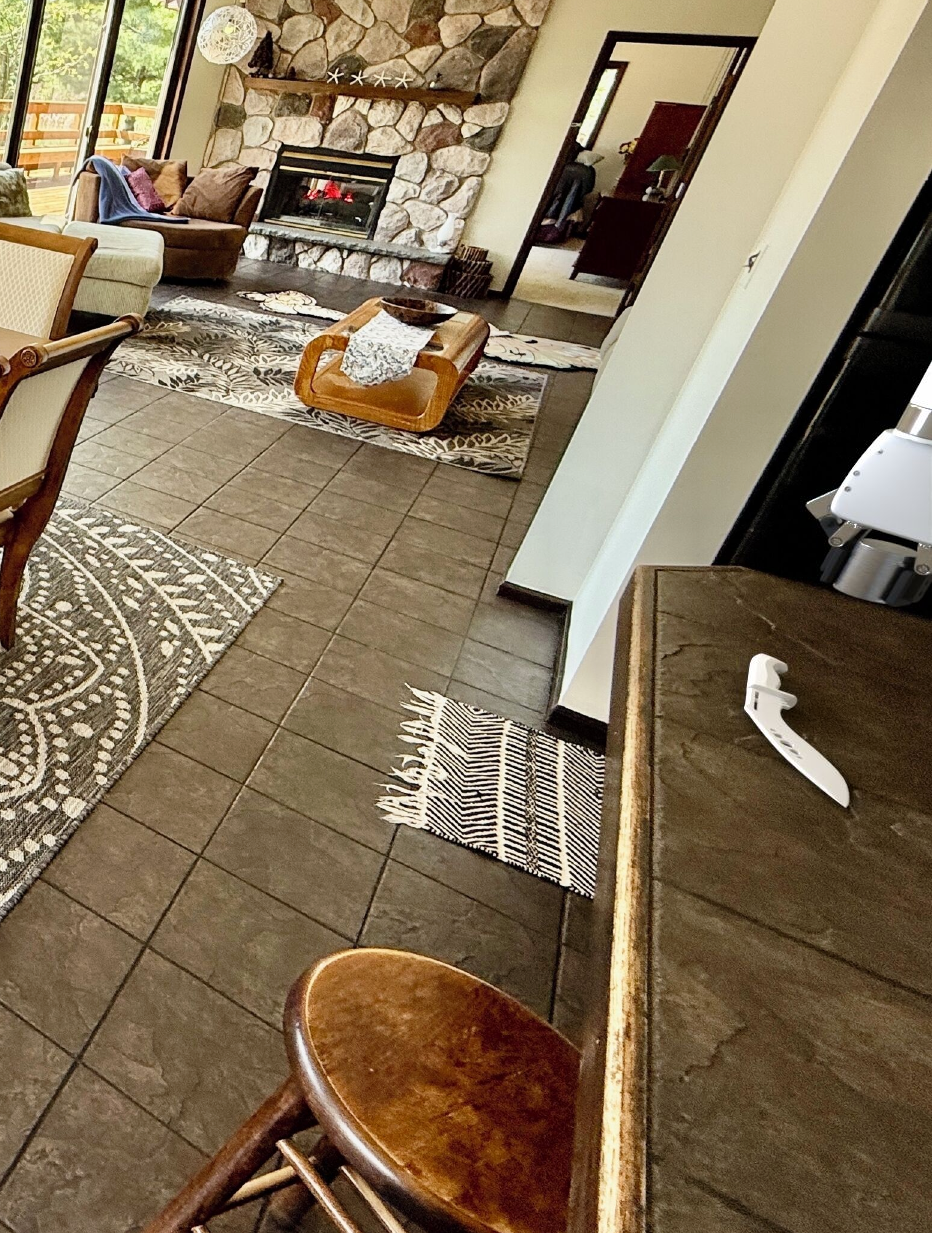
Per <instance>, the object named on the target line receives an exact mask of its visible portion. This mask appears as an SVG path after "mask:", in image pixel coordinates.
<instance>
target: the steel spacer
mask: <svg viewBox="0 0 932 1233" xmlns="http://www.w3.org/2000/svg"><path fill="white" fill-rule="evenodd" d="M916 555H917V551H916V550H914V549H912V548H910V547H908V546H907V547H906V546H903V545H901V544H896V543H893V542H889V541H884V540H881V539H880V540H879V539H873V538H863V539H859V540H858V541H857V543H856V545H855V546H854V548H853V550H852V552H851V554H850V555H849V557H848V559H847V561H846V562H845V564H844V566H843V568H842V570H841V571H840V573H839V575H838V577H837V579H836V580H835V582H833V584H832V586H833V588H834V589H836V590H838V591H839V592H841V593H844V594H846V595H847V596H852V597H854V598H857V599H861V600H864V601H868V602H872V603H876V604H877V603H878V604H886V605H887V603H886V602H885V601H886V599H887V597H888V596H889V594H890V592H891V591H892V589H893V587H894V586H895V584H896V582H897V580H898V579H899V577H900V575H901V574H902V572H903V571H905V570H911V568H912V566H913V565H915V560H916Z"/></svg>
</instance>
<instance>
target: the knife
mask: <svg viewBox="0 0 932 1233" xmlns="http://www.w3.org/2000/svg"><path fill="white" fill-rule="evenodd" d="M788 671H789V666H788V664H787V663H785V662H783V661H782V660H779V659H777V658H776V657H773V656H770V655H768V654H765V653H758V654H757V655H754V656H753V657H752V659H751V661H750V663H749V670H748V677H747V684H746V690H745V691H746V696H745V704H744V711H745V712H746V713H747V715H748V716H750V719H752V721H753V722H754V723H755V725H756V726H757V727H758V729H759V730H760V731H761V732H762V734H763V735H764V736H765V738H767V739H768V741H769V742H770V743H771V745H773V747H774V748H775V749H776V750H777V751H778V752H779V754H781V755H782V756H783V757H784V758H785V759H786V760H787V761H788V762H789V763H790V764H791V765H792V766H793V767H795V768H796V769H797V770H798V771H799V772H800V773H801V774H803V776H805V777H806V778H807V779H809V780H810V781H811V782H812V783H813V784H815V785H816V786H817V787H818V788H819V789H820V790H822V791H823V792H825V793H826V794H827V795H828V796H829V797H830V798H832V799H834V800H835V801H836V802H837V803H839V804H840V805H841V806H843V807H844V808H847V807H848V806H849V803H850V792H849V788H848V785H847V783H846V780H845V778H844V776H842V774H841V773H840V772H839V770H838V769H837V768H836V767H835V766H833V764H832V763H831V762H830V761H829V760H828V759H826V757H824V756H823V755H822V754H821V753H820V752H819V751H818V750H816V748H814V747H813V746H812V745H811V744H810V743H808V742H807V741H806V740H805V739H803V738H802V737H801V736H799V735H798V734H797V733H796V732H795V731H794V730H793V729H791V727H789V725H788V724H787V723H786V722H785V721H784V719H783V717H782V714H781V712H782V710H783V709H784V710H790V709H791V708H793V707H795V706H796V704H797V703H798V698H797V696H796V695H795V694H791V693H788V692H785V691H782V690H780V687H781V685H782V683H781V679H780V676H779V675H781V674H784V673H787V672H788ZM755 703H756V709H755Z"/></svg>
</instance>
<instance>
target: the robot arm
mask: <svg viewBox="0 0 932 1233" xmlns="http://www.w3.org/2000/svg"><path fill="white" fill-rule="evenodd" d="M854 464H855V465H854V466H853V467H852V469H851V470H850V471H849V472H848V475H847V476H845V479H844V480H843V482H842V483H841V485H840V486H839V487H838V488H836V489H834V490H832V491H829V492H827V493H825V494H822V495H820V496H818V497H816V498H814V499H812V500H809V501H807V502H806V504H805V508H806V509H807V510H808V511H809V512H810V513H811V514H812V516H814V518H815V519H816V520H818V521H819V524H820V526H821V527H822V529H823V531H824V532H825V534H826V536H827V537H828V544H829V545H830V546H831V547H830V549H829V550H828V553H827V554H826V556H825V559H824V560H823V562H822V564H821V566H820V569H819V571H821V572H823V573H822V575H821V576H820V578H819V581H820V582H823V583H826V584H831V583H833V584H834V582H835V580H836V579H837V577H838V575H839V573H840V571H841V570H842V568H843V566H844V564H845V562H846V561H847V559H848V557H849V555H850V554H851V552H852V550H853V548H854V546H855V545H856V543H857V541H858V540H859V539H865V538H866V537H867V535H868V534H869V533H870V532H871V531H872V530H876V531H880V532H882V533H886V534H889V535H892V536H897V537H899V538H901V539H906V540H909V541H913V542H916V543H918V544H917V551H916V552H917V555H916V560H915V565H913V566H912V568H911V570H905V571H903V572H902V574H901V575H900V577H899V579H898V580H897V582H896V584H895V586H894V587H893V589H892V591H891V592H890V594H889V596H888V597H887V599H886V601H885V602H886V603H887V604H886V605H887V606H890V607H893V608H896V607H897V608H898V607H902V606H909V605H911V604H912V603H918V602H919V601H920V600H921V599H922V598H923V596H924V595H925V593H926V592H927V591H928V588H929V587H930V585H931V583H932V361H931V362H930V364H929V366H928V368H927V369H926V372H925V373H924V375H923V377H922V379H921V381H920V383H919V385H918V386H917V388H916V390H915V392H914V394H913V395H912V397H911V399H910V401H909V402H908V404H907V406H906V408H905V410H904V411H903V414H902V415H901V417H900V419H899V420H898V423H897V425H896V426H895V428H889V429H885V430H884V431H883V432H882V433H881V434H880V435H879V436H877V438H876V439H875V440H874V441H873V442H872V444H871V445H870V446H869V447H868V448H867V449H866V451H864V453H863V454H861V457H860V458H859V459H858V460H857V462H856V463H854Z"/></svg>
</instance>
